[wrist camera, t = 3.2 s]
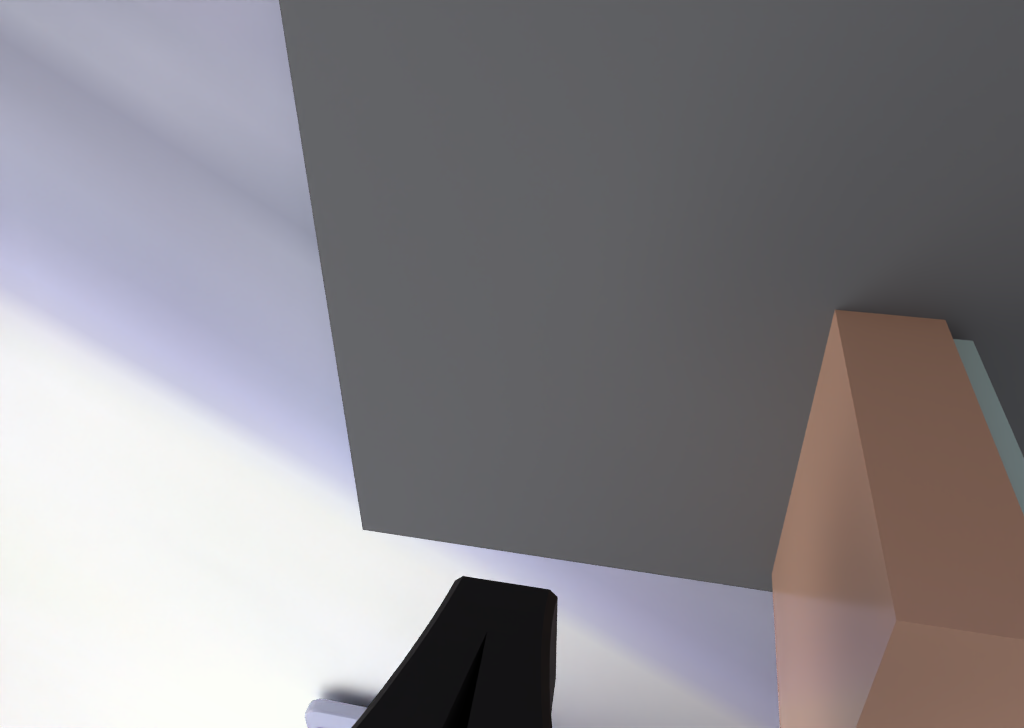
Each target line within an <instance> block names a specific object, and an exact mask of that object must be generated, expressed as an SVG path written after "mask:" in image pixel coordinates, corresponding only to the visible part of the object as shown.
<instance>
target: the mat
mask: <svg viewBox="0 0 1024 728" xmlns="http://www.w3.org/2000/svg"><path fill="white" fill-rule="evenodd" d="M279 4H280V10H281V16H282V22H283V29H284V35H285V41H286V48H287V54H288V60H289V67H290V73H291V79H292V86H293V92H294V98H295V105H296V111H297V117H298V123H299V130H300V136H301V142H302V149H303V155H304V161H305V168H306V174H307V180H308V187H309V193H310V199H311V205H312V212H313V218H314V224H315V231H316V237H317V243H318V250H319V256H320V262H321V269H322V275H323V281H324V287H325V294H326V300H327V306H328V313H329V319H330V325H331V332H332V338H333V344H334V351H335V357H336V363H337V370H338V376H339V382H340V388H341V395H342V401H343V407H344V414H345V420H346V426H347V433H348V439H349V445H350V452H351V458H352V464H353V470H354V477H355V483H356V489H357V496H358V502H359V508H360V515H361V521H362V527H363V530H369V531H375V532H382V533H388V534H395V535H402V536H408V537H415V538H421V539H428V540H434V541H441V542H448V543H454V544H461V545H467V546H474V547H480V548H487V549H494V550H500V551H507V552H513V553H520V554H527V555H533V556H540V557H546V558H553V559H559V560H566V561H573V562H579V563H586V564H592V565H599V566H606V567H612V568H619V569H625V570H632V571H638V572H645V573H652V574H658V575H665V576H671V577H678V578H685V579H691V580H698V581H704V582H711V583H717V584H724V585H731V586H737V587H744V588H750V589H757V590H763V591H770V592H773V589H772V571H773V567H774V562H775V558H776V554H777V550H778V546H779V541H780V537H781V533H782V529H783V525H784V520H785V516H786V512H787V508H788V504H789V500H790V495H791V491H792V487H793V483H794V479H795V474H796V470H797V466H798V462H799V458H800V453H801V449H802V445H803V441H804V437H805V433H806V428H807V424H808V420H809V416H810V412H811V407H812V403H813V399H814V395H815V391H816V386H817V382H818V378H819V374H820V370H821V366H822V361H823V357H824V353H825V349H826V345H827V340H828V336H829V332H830V328H831V324H832V319H833V315H834V311H835V310H844V311H855V312H865V313H876V314H887V315H898V316H909V317H919V318H930V319H941V320H946V323H947V325H948V328H949V330H950V333H951V335H952V338H953V339H960V340H970V341H973V342H974V344H975V347H976V349H977V351H978V354H979V356H980V358H981V360H982V363H983V365H984V367H985V370H986V372H987V374H988V377H989V379H990V381H991V383H992V386H993V388H994V390H995V393H996V395H997V397H998V400H999V402H1000V404H1001V406H1002V409H1003V411H1004V413H1005V416H1006V418H1007V420H1008V423H1009V425H1010V427H1011V429H1012V432H1013V434H1014V436H1015V439H1016V441H1017V443H1018V446H1019V448H1020V450H1021V452H1022V455H1023V457H1024V0H279Z"/></svg>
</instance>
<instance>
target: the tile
mask: <svg viewBox="0 0 1024 728" xmlns="http://www.w3.org/2000/svg"><path fill="white" fill-rule="evenodd" d="M772 589H773V608H774V627H775V646H776V665H777V684H778V703H779V722H780V728H1024V457H1023V455H1022V452H1021V450H1020V448H1019V446H1018V443H1017V441H1016V439H1015V436H1014V434H1013V432H1012V429H1011V427H1010V425H1009V423H1008V420H1007V418H1006V416H1005V413H1004V411H1003V409H1002V406H1001V404H1000V402H999V400H998V397H997V395H996V393H995V390H994V388H993V386H992V383H991V381H990V379H989V377H988V374H987V372H986V370H985V367H984V365H983V363H982V360H981V358H980V356H979V354H978V351H977V349H976V347H975V344H974V342H973V341H970V340H960V339H953V338H952V335H951V333H950V330H949V328H948V325H947V323H946V320H941V319H930V318H919V317H909V316H898V315H887V314H876V313H865V312H855V311H844V310H835V311H834V315H833V319H832V324H831V328H830V332H829V336H828V340H827V345H826V349H825V353H824V357H823V361H822V366H821V370H820V374H819V378H818V382H817V386H816V391H815V395H814V399H813V403H812V407H811V412H810V416H809V420H808V424H807V428H806V433H805V437H804V441H803V445H802V449H801V453H800V458H799V462H798V466H797V470H796V474H795V479H794V483H793V487H792V491H791V495H790V500H789V504H788V508H787V512H786V516H785V520H784V525H783V529H782V533H781V537H780V541H779V546H778V550H777V554H776V558H775V562H774V567H773V571H772Z"/></svg>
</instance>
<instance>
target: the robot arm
mask: <svg viewBox="0 0 1024 728" xmlns="http://www.w3.org/2000/svg"><path fill="white" fill-rule="evenodd" d="M556 641H557V596H556V595H555V594H554V593H553V592H552V591H551V590H548V589H542V588H536V587H529V586H523V585H516V584H510V583H504V582H497V581H491V580H484V579H478V578H472V577H465V576H462V577H461V578H459V579H457V580H455V582H454V584H453V585H452V587H451V589H450V590H449V592H448V594H447V596H446V597H445V599H444V601H443V602H442V604H441V605H440V607H439V608H438V610H437V612H436V613H435V615H434V616H433V618H432V619H431V621H430V622H429V624H428V625H427V627H426V628H425V630H424V631H423V633H422V634H421V636H420V637H419V639H418V640H417V642H416V643H415V644H414V646H413V647H412V649H411V650H410V652H409V653H408V654H407V656H406V657H405V659H404V660H403V661H402V663H401V664H400V665H399V667H398V668H397V669H396V671H395V672H394V673H393V675H392V676H391V677H390V679H389V680H388V681H387V683H386V684H385V685H384V687H383V688H382V689H381V691H380V692H379V693H378V695H377V696H376V697H375V699H374V700H373V701H372V703H371V704H370V705H369V706H368V707H363V706H357V705H352V704H347V703H342V702H336V701H331V700H326V699H317V700H313V701H312V702H311V703H310V704H309V706H308V708H307V710H306V713H305V719H306V723H307V727H308V728H552V721H551V711H552V702H553V695H554V687H555V680H556Z"/></svg>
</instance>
